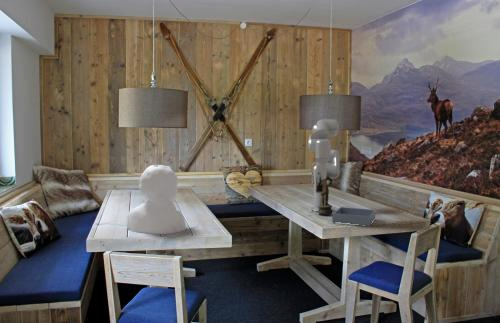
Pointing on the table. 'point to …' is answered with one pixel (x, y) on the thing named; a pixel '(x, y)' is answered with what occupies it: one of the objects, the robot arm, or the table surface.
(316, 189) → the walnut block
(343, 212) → the slate bin
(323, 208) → the statue
